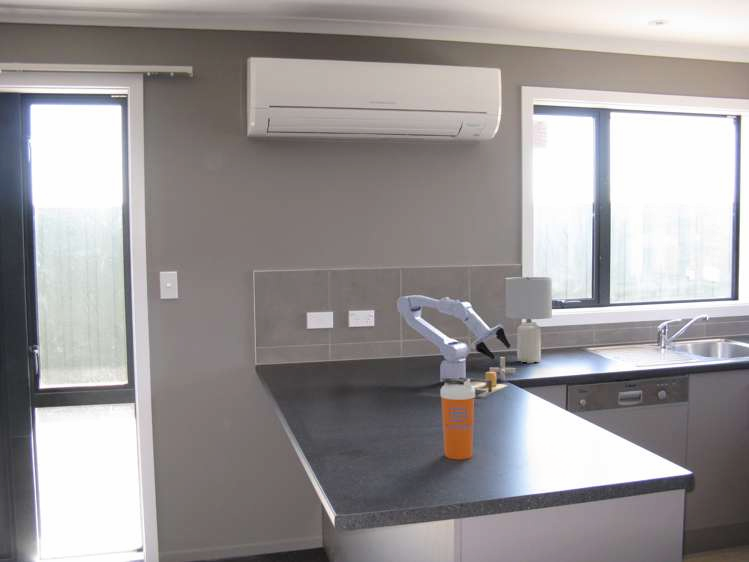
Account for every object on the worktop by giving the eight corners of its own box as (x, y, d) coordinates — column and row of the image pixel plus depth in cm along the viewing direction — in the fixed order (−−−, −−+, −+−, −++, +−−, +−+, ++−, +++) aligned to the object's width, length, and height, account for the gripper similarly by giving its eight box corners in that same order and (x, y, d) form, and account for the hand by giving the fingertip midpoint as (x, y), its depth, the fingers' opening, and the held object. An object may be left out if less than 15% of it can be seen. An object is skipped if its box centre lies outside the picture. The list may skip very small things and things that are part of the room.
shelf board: (448, 395, 253) (447, 381, 253) (475, 384, 271) (474, 371, 271) (483, 399, 245) (483, 384, 245) (508, 388, 264) (508, 374, 263)
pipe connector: (515, 385, 268) (515, 359, 267) (489, 385, 270) (489, 359, 269) (515, 380, 277) (515, 355, 277) (490, 380, 279) (490, 355, 279)
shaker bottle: (438, 451, 186) (437, 376, 185) (471, 449, 187) (470, 375, 185) (444, 461, 177) (443, 383, 176) (479, 460, 178) (478, 381, 177)
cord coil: (483, 386, 262) (483, 373, 261) (488, 384, 265) (488, 371, 265) (493, 387, 259) (493, 374, 259) (498, 385, 263) (498, 372, 262)
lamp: (501, 359, 329) (500, 276, 327) (542, 357, 331) (542, 275, 329) (514, 366, 309) (513, 278, 307) (558, 364, 311) (558, 277, 309)
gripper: (463, 331, 261) (488, 358, 255) (493, 311, 265) (517, 337, 259) (462, 340, 267) (485, 366, 261) (491, 320, 271) (515, 345, 265)
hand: (501, 352), depth 260 cm, fingers open, 7 cm apart
